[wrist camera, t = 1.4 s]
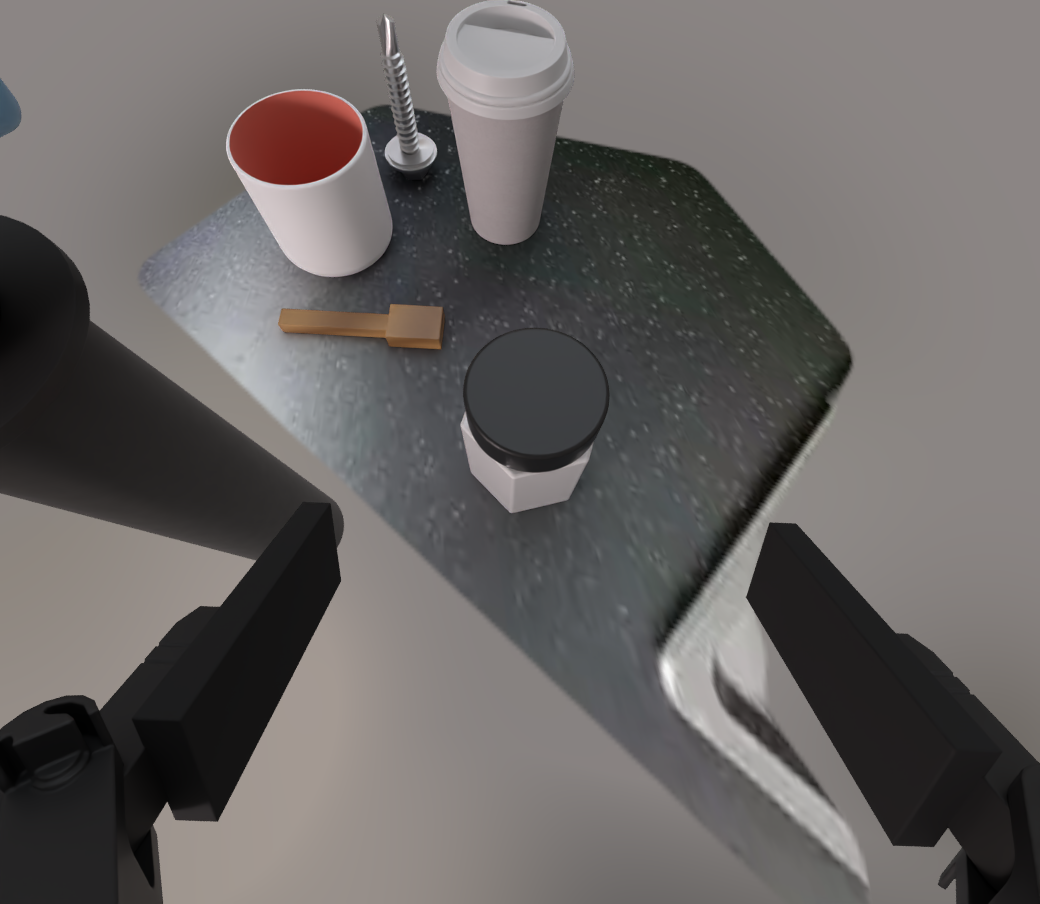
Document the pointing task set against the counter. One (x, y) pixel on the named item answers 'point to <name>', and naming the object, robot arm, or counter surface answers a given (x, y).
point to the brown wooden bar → (373, 324)
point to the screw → (402, 110)
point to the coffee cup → (505, 109)
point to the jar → (532, 415)
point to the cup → (313, 179)
